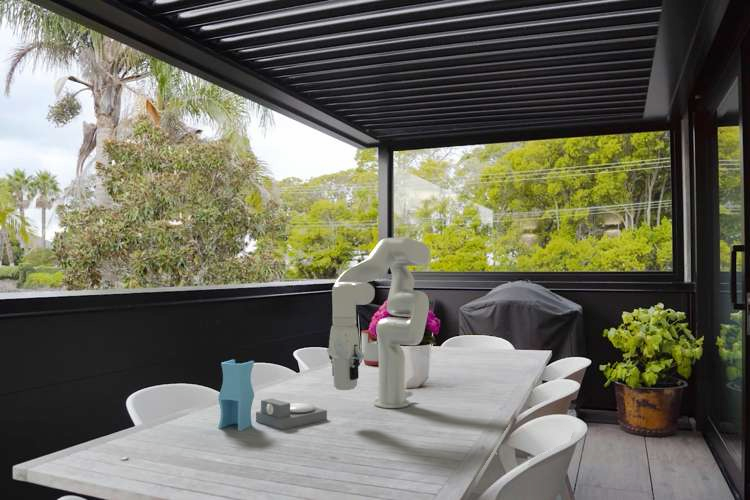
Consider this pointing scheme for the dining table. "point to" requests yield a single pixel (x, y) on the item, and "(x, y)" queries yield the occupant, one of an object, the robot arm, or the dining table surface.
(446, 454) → the dining table surface
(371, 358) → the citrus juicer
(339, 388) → the can
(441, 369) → the dining table surface
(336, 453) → the dining table surface
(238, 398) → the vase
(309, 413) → the scale
